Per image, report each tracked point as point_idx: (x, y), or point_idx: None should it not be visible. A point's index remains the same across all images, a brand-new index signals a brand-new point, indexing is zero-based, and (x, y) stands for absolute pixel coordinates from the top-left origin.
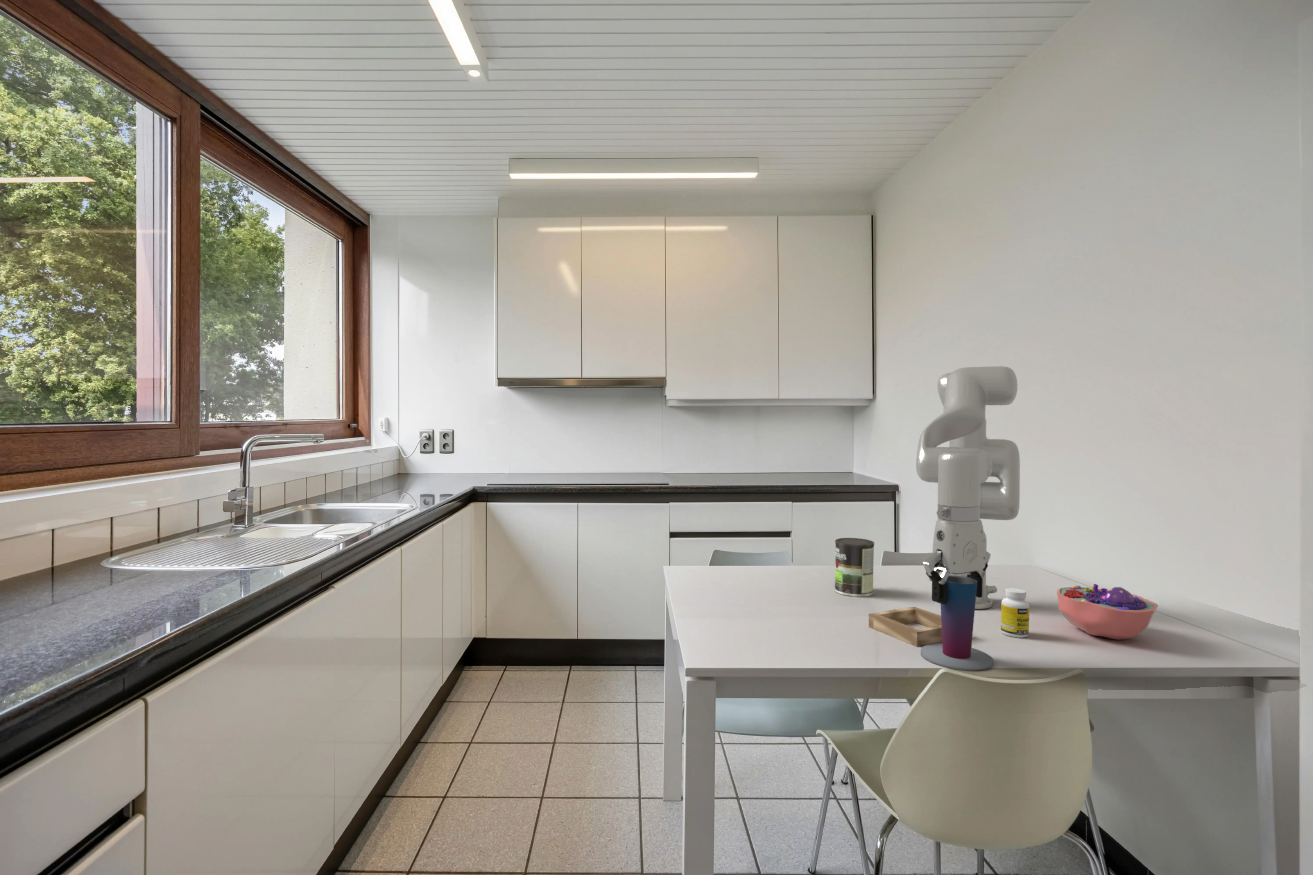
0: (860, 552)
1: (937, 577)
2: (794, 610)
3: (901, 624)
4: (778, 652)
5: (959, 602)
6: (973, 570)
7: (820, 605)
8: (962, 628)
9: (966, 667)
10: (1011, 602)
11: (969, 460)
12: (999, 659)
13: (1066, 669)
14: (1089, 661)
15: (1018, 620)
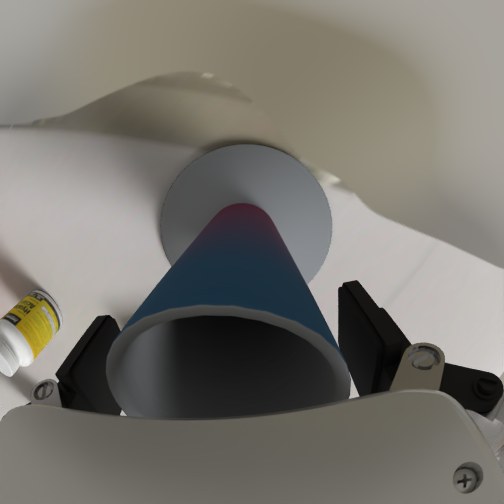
0: None
1: (455, 379)
2: None
3: None
4: (491, 322)
5: (285, 265)
6: (117, 419)
7: None
8: (258, 222)
9: (284, 153)
10: (17, 343)
11: None
12: (145, 196)
13: (59, 120)
14: (8, 159)
15: (28, 310)
